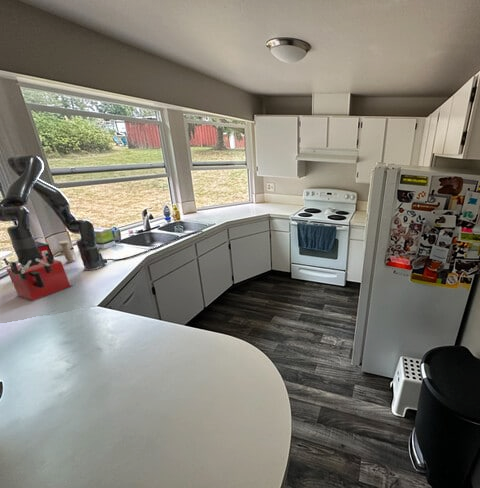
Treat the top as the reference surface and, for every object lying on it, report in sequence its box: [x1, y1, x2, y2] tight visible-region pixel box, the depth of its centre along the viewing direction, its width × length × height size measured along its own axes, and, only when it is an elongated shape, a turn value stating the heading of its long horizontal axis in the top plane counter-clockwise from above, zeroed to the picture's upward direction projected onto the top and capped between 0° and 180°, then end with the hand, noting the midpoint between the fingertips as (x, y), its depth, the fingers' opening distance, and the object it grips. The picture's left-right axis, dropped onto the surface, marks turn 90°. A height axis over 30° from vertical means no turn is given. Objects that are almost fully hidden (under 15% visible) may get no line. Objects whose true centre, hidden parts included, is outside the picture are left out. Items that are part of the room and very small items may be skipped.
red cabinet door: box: [23, 261, 71, 301], centre depth 135 cm, size 6×16×16 cm, turn 161°
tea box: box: [93, 226, 116, 250], centre depth 202 cm, size 15×10×15 cm, turn 80°
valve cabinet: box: [5, 258, 61, 301], centre depth 137 cm, size 12×16×16 cm
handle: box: [58, 239, 75, 263], centre depth 173 cm, size 5×6×15 cm
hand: (37, 276), depth 128 cm, fingers open, 8 cm apart
